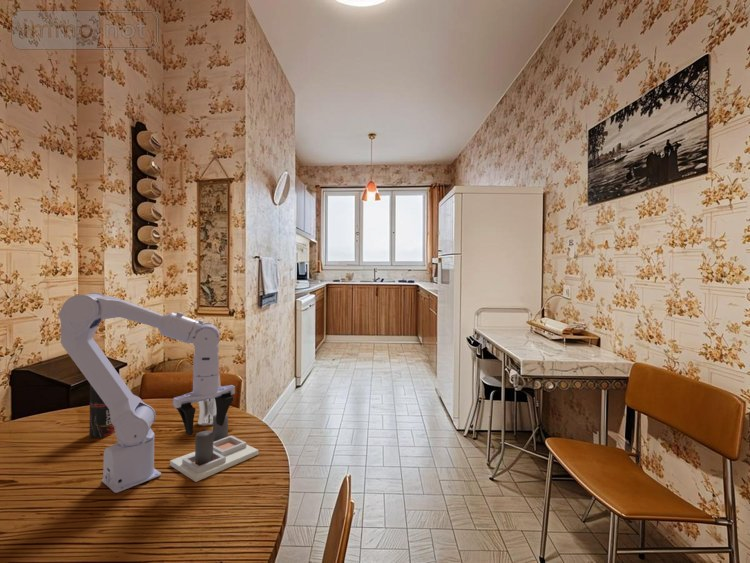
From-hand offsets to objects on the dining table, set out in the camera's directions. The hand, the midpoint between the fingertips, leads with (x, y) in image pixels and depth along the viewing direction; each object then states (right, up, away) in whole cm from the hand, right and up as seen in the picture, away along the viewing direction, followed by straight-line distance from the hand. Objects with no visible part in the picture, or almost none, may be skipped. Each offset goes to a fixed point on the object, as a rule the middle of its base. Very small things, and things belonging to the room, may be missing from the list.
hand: (205, 429), depth 92 cm
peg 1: (0, -8, 0) cm, 8 cm away
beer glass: (-12, -9, +28) cm, 32 cm away
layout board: (+1, -9, +4) cm, 10 cm away
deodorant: (-38, -9, +18) cm, 43 cm away
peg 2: (-3, -9, +15) cm, 18 cm away
